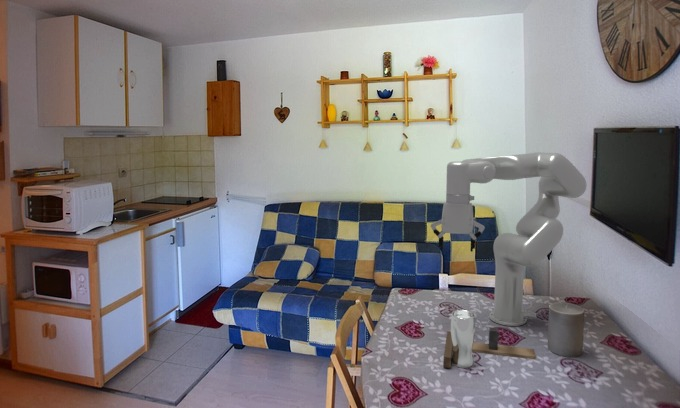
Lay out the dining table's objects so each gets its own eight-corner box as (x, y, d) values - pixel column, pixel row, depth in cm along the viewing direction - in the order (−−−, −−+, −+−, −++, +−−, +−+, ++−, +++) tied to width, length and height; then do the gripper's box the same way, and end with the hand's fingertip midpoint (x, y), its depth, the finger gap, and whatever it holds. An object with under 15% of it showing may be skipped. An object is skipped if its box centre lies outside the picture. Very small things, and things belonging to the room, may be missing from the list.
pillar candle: (579, 345, 138) (581, 299, 135) (585, 359, 128) (587, 311, 126) (545, 341, 141) (547, 296, 139) (548, 355, 132) (550, 307, 130)
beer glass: (476, 369, 124) (477, 319, 122) (451, 368, 125) (452, 318, 123) (472, 357, 131) (473, 309, 129) (448, 356, 132) (449, 309, 130)
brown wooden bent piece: (533, 351, 134) (534, 330, 133) (542, 381, 117) (543, 357, 116) (447, 341, 141) (447, 321, 140) (443, 368, 125) (443, 345, 124)
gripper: (485, 198, 144) (483, 248, 147) (432, 197, 149) (431, 245, 152) (485, 201, 137) (484, 254, 140) (430, 200, 142) (429, 251, 145)
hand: (456, 249), depth 146 cm, fingers open, 9 cm apart
